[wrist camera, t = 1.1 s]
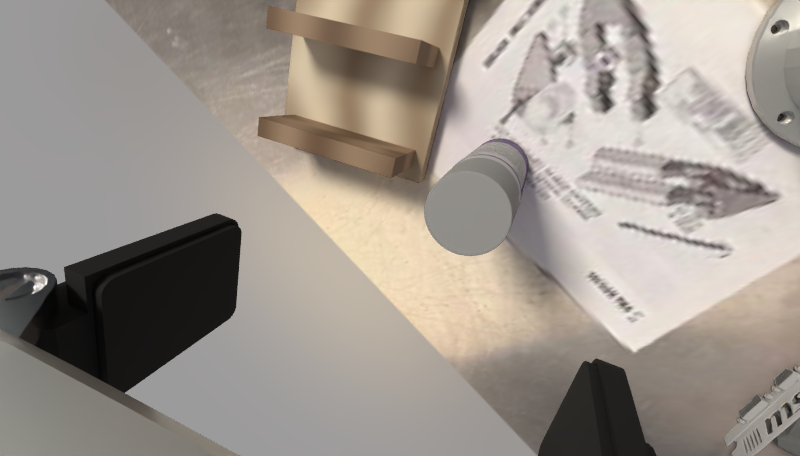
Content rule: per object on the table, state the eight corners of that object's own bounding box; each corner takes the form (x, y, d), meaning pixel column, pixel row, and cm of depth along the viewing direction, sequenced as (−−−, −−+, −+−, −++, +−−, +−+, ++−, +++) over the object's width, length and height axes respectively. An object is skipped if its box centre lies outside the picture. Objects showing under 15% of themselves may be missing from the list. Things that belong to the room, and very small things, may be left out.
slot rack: (490, -87, 28) (476, -134, 22) (423, 179, 36) (400, 196, 30) (319, -110, 32) (267, -157, 26) (291, 138, 39) (246, 146, 33)
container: (494, 204, 34) (460, 274, 21) (460, 163, 34) (404, 206, 21) (540, 170, 32) (535, 224, 19) (503, 126, 32) (472, 148, 19)
